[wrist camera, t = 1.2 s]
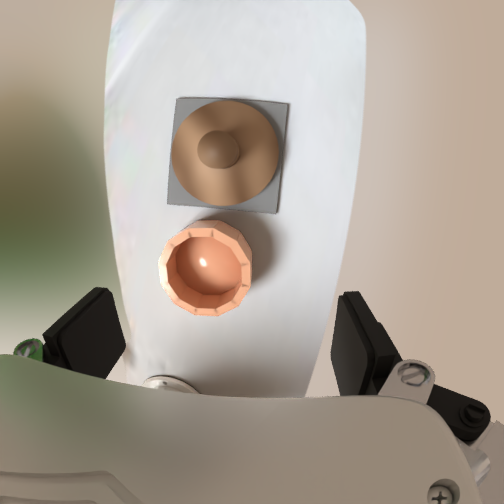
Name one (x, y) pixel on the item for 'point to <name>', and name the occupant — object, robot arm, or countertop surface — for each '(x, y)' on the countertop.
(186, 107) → the mat
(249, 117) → the lid
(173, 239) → the bowl
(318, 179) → the countertop surface
